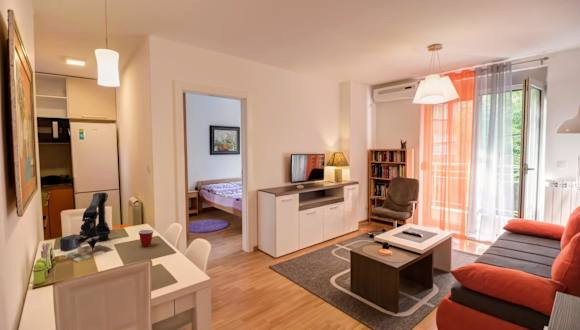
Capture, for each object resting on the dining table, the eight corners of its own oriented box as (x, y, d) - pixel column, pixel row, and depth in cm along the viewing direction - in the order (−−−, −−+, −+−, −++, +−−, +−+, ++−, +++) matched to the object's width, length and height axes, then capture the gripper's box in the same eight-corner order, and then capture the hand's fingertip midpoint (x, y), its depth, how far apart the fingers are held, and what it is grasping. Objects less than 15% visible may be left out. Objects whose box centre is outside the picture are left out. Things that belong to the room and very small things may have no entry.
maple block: (87, 251, 198) (87, 245, 198) (92, 252, 195) (91, 247, 195) (77, 253, 193) (77, 248, 193) (82, 255, 190) (82, 249, 190)
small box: (67, 253, 197) (66, 239, 197) (60, 252, 199) (59, 238, 198) (81, 248, 208) (80, 234, 207) (74, 247, 209) (73, 234, 208)
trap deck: (99, 246, 212) (99, 243, 211) (114, 251, 202) (114, 248, 201) (63, 256, 192) (63, 252, 191) (77, 263, 182) (77, 259, 181)
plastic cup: (157, 245, 215) (157, 230, 214) (143, 249, 206) (143, 233, 205) (149, 242, 221) (148, 227, 220) (135, 246, 212) (135, 231, 211)
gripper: (99, 222, 209) (100, 243, 210) (70, 229, 193) (71, 251, 194) (107, 224, 203) (108, 245, 204) (78, 231, 187) (79, 254, 188)
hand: (92, 249), depth 198 cm, fingers closed
